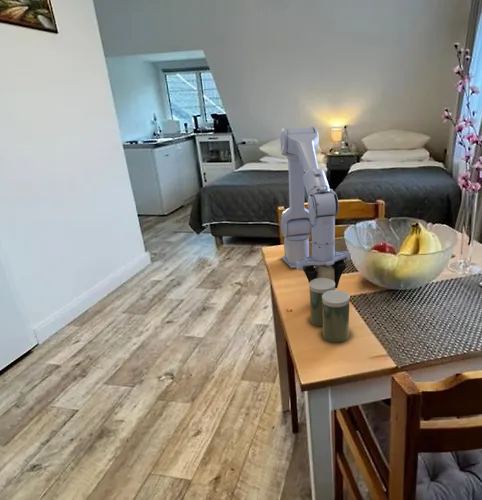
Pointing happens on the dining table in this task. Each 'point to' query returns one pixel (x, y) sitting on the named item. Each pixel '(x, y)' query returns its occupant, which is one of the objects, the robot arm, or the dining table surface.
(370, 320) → the dining table surface
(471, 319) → the dining table surface
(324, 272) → the candle
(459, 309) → the dining table surface
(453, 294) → the dining table surface
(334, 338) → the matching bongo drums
